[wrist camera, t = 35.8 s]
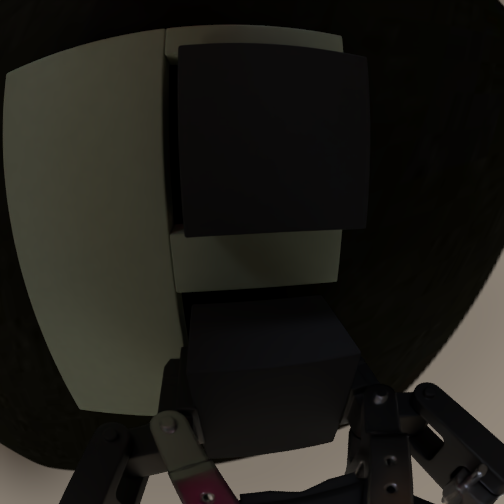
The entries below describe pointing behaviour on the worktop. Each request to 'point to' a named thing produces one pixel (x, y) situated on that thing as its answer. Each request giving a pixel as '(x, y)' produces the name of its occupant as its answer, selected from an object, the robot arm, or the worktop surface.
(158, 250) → the pale green e-shaped block
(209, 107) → the dark charcoal cube
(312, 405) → the black block
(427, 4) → the worktop surface
